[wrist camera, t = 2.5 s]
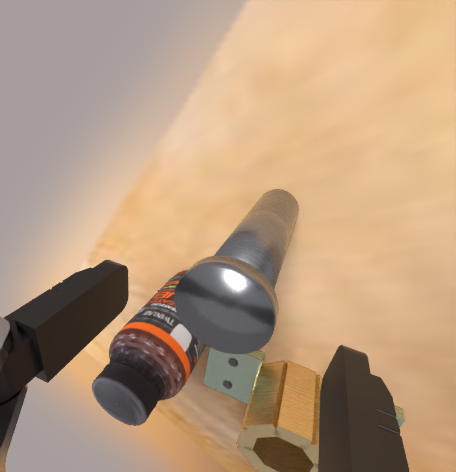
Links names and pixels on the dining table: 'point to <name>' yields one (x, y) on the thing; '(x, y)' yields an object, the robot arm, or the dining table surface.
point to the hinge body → (273, 409)
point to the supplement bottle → (147, 359)
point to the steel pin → (240, 280)
